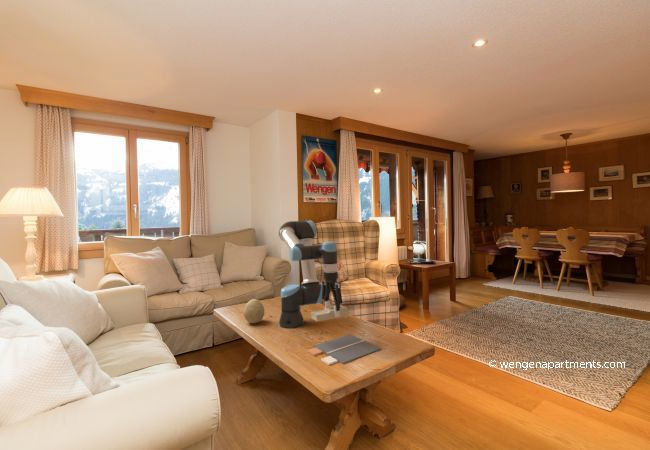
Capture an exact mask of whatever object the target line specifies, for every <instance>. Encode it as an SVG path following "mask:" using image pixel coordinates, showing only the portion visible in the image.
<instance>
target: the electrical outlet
mask: <svg viewBox="0 0 650 450" xmlns="http://www.w3.org/2000/svg"><path fill="white" fill-rule="evenodd" d="M348 309H349V308H348V307H346V306H345V305H341V304H340V317H336V318H335V311H334V306H330V307H328V308H325V307H324V308H323V309H320V310H315V311H310V316H311V319H312V320H314V321H315V322H322V321H328V320H331V319H337V318H339V319H340V318H342V317H348V316H349V310H348Z"/></svg>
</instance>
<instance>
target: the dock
mask: <svg viewBox="0 0 650 450" xmlns="http://www.w3.org/2000/svg"><path fill="white" fill-rule="evenodd" d="M381 350H382V347H379V346H378V345H375V344H373V343H372V342H368V341H366V339H361V338H360V337H357V336H356V335H353V334H351V333H348V334H346V335H342V336H339V337H336V338H333V339H330V340H326V341H324V342H320V343H317V344H314V345H313V348H309V349H307V353H308V354H310V355H312V356H313V357H315V356H319V355H321V354H325V355H327V356H325V357H322V358H320V359H321V361H322V362H323V363H325V365H328V366H331V365H334V364H336V363H340V364H342V365H344V364H348V363H349V362H352V361H355V360H357V359H360V358H362V357H365V356H369V355H371V354H373V353H376V352H378V351H381Z"/></svg>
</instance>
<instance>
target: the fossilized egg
mask: <svg viewBox="0 0 650 450" xmlns="http://www.w3.org/2000/svg"><path fill="white" fill-rule="evenodd" d="M264 316H265V307H264V305H263V303H262V302H261V301H259V300H258V299H256V298H253V299H250V300H249V301H248V302H247V303H246V304H245V306H244V307H243V317H244V320H246V321H247V322H248V323H250V324H257V323H260V322H261V321H262V320H263V318H264Z"/></svg>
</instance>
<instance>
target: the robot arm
mask: <svg viewBox="0 0 650 450" xmlns="http://www.w3.org/2000/svg"><path fill="white" fill-rule="evenodd" d="M278 236H279V238H280V240H281V241H283V242H284V243H285V245H286V246H287V248H288V249H289V257H290V260H291V261H293V262H296V261H297V262H300V263H301V264H300V265H301V272H302V282H301V284H300V285H301V286H300V285H299V284H288V285H286V286H284V287H282V288H281V290H280V307H281V313H280V317H279V321H278V326H279V325H280V327H281V328H285V329H293V328H298V327H301V326H302V325H304V324H305V322H304V321H305V319H304V317H303V316H304V315H303V314H302V312H301V311H302V310H301V307H302V306H303V307H304V306H309V305H316V304H321V303H322V302H324V308H328V307H331V302H330V301H331V300H330V297H331V293H332V298H333V300H334V304H333V307H334V311H335V318H334V319H337V318H336V317H339V318H341V317H340V305H341V304H343V296H342V286H341V285H342V284H341V283H338V282H337V280H338V279H339V272H338V271H339V267H338V266H339V265H338V246H337V242H336V241H324V242H322V244H321V243H320V244H317V245H316V244H315V245H313V242H314V241H315V238H316V236H317V230H316V226H315V224H314V222H313V221H311V220H295V221H292V220H291V221H287V222H285V223H283V224H282V225H281V226H280V227H279V230H278ZM321 259H322V267H323V279H324V280H323V281H322V282H321V283H320V280H318V278H317V272H316V265H315V260H321Z"/></svg>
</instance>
